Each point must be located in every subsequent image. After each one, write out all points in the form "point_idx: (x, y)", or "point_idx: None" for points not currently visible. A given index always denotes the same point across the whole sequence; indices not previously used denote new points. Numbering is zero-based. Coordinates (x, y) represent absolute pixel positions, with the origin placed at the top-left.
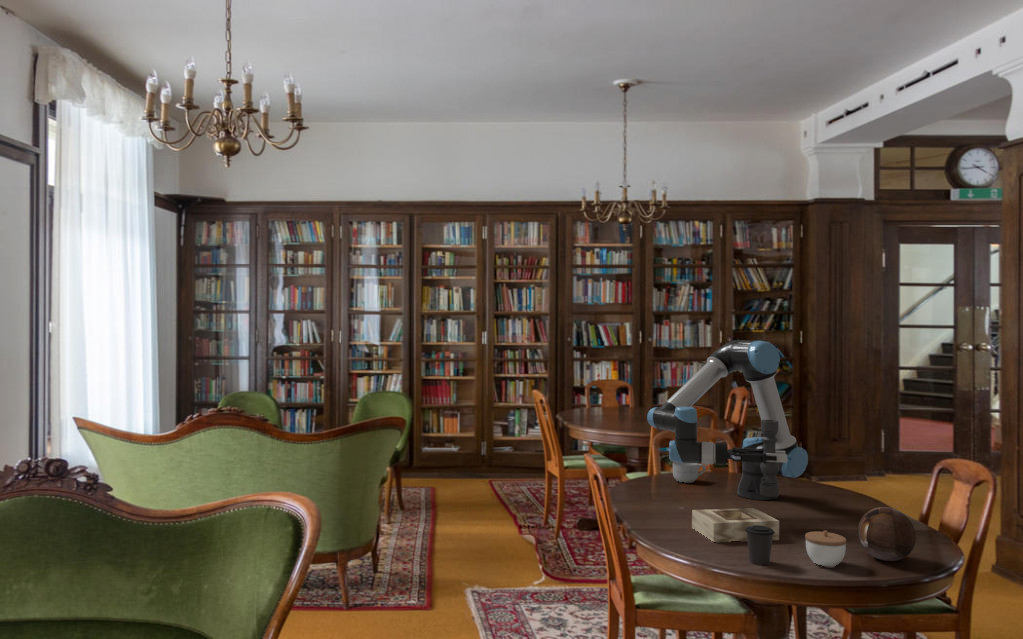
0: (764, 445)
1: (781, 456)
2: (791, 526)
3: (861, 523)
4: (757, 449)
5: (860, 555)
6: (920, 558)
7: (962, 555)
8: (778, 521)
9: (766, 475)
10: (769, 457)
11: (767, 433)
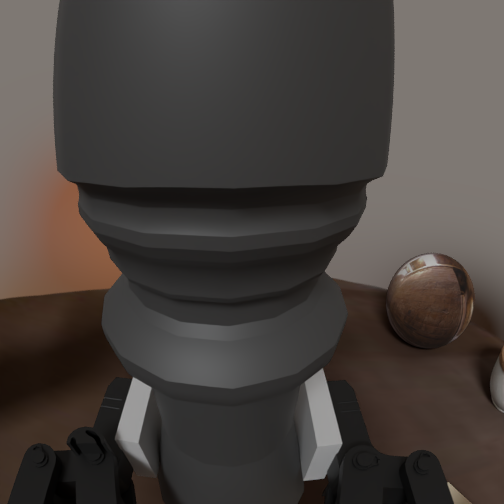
0: (262, 421)
1: None
2: None
3: (463, 310)
4: (45, 492)
5: (422, 364)
6: (375, 306)
7: None
8: (449, 484)
9: None
10: (362, 433)
11: (361, 212)
